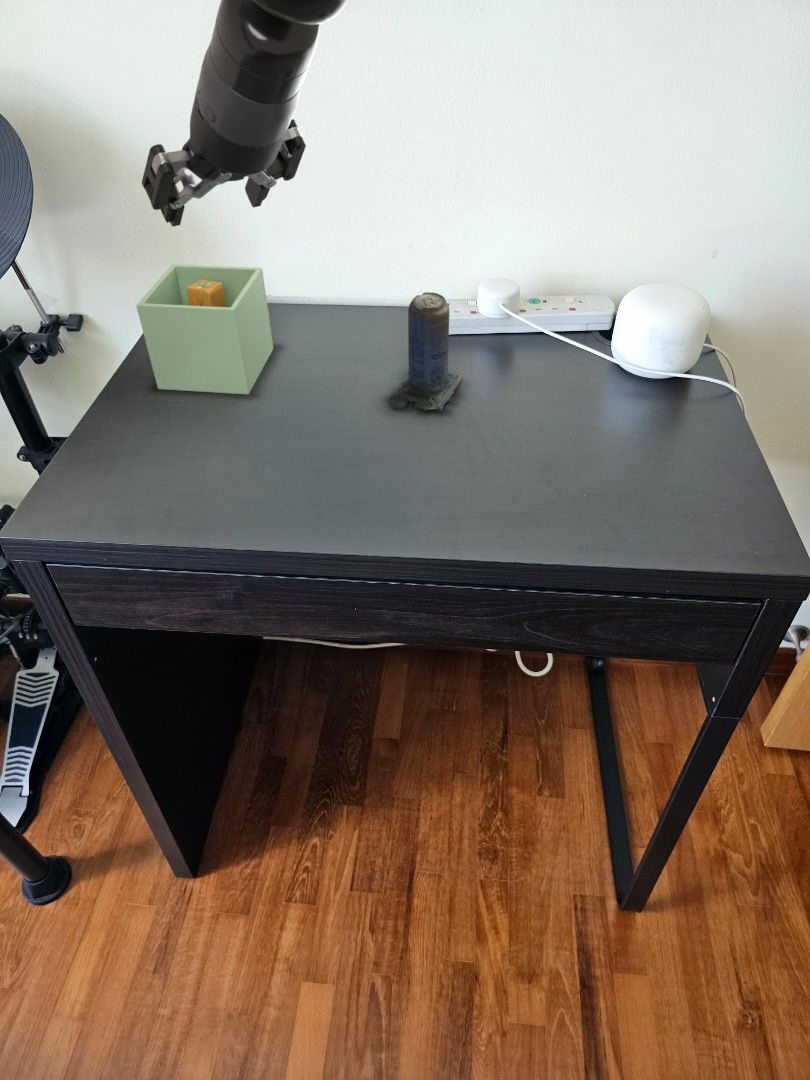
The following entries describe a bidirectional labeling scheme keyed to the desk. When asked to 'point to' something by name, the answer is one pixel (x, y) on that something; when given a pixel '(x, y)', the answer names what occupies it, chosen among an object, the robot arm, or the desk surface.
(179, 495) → the desk surface
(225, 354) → the trash bin
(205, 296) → the supplement box
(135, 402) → the desk surface
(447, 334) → the beverage can
